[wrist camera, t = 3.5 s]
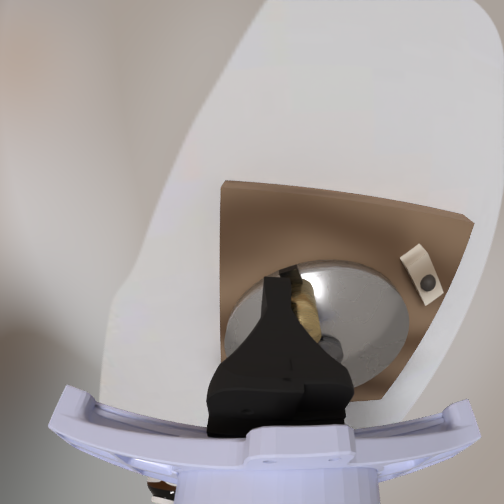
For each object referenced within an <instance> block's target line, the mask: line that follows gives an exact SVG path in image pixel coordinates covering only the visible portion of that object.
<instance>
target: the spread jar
mask: <svg viewBox="0 0 504 504" xmlns="http://www.w3.org/2000/svg"><path fill="white" fill-rule="evenodd" d="M147 484H148V488H149V489H150V491H151V493H152V494H153V496H152V500H151V501H152V502H154V503H157V504H174V498H175V492H176V487H177V484H173V483H169V482H165V481H161V480H158V479H154V478H151V477H148V481H147Z"/></svg>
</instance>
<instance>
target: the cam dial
mask: <svg viewBox="0 0 504 504" xmlns="http://www.w3.org/2000/svg"><path fill="white" fill-rule="evenodd" d="M268 277H283V278H290V282H291V286H292V290H291V308H292V310H293V312H294V314H295V315H296V317H297V318H298V320H299V321H300V323H301V324H302V326H303V327H304V328H305V330H306V331H307V332H308V333H309V334H310V336H311V337H312V338H313V339H314V340H315V341H316V342H317V343H318V344H319V345H320V346H321V347H322V348H323V349H324V351H326V352H327V353H328V354H329V355H330V356H331V357H332V358H334V359H335V360H336V361H338V362H339V363H341V364H342V365H343V366H345V367H346V368H347V369H348V372H349V374H350V377H351V379H352V382H353V386H354V388H355V387H357V386H359V385H361V384H364V383H365V382H367V381H369V380H370V379H372V378H374V377H375V376H376V375H378V374H379V373H381V372H382V371H383V370H384V369H385V368H386V367H388V366H389V364H390V363H391V362H392V361H393V360H394V359H395V358H396V356H397V355H398V354H399V352H400V351H401V349H402V347H403V345H404V343H405V341H406V338H407V335H408V331H409V314H408V310H407V307H406V305H405V303H404V301H403V299H402V297H401V295H400V294H399V292H398V290H397V288H396V287H395V285H394V284H393V283H392V282H391V281H390V280H389V279H388V278H387V277H386V276H384V275H383V274H382V273H380V272H379V271H377V270H375V269H373V268H371V267H369V266H366V265H363V264H361V263H356V262H352V261H346V260H335V259H332V260H315V261H308V262H303V263H299V264H295V265H291V266H288V267H286V268H283V269H280V270H278V271H276V272H274V273H272V274H270V275H268ZM263 282H264V278H263V279H261V280H260V281H258V282H257V283H255V284H254V285H253V286H251V287H250V288H249V289H248V290H247V291H246V292H245V293H244V294H243V295H242V296H241V297H240V299H239V300H238V301H237V303H236V304H235V306H234V307H233V309H232V311H231V314H230V316H229V319H228V324H227V329H226V334H225V339H224V348H225V353H226V356H227V357H229V356H230V355H231V354H232V353H233V352H234V351H235V350H236V349H237V348H238V347H239V346H240V345H241V344H242V342H243V341H244V340H245V339H246V338H247V337H248V335H249V334H250V333H251V331H252V330H253V329H254V327H255V326H256V324H257V323H258V321H259V319H260V318H261V304H262V293H263Z"/></svg>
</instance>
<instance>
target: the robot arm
mask: <svg viewBox="0 0 504 504" xmlns="http://www.w3.org/2000/svg"><path fill="white" fill-rule="evenodd" d="M291 290H292V286H291V282H290V278H283V277H268V276H264V282H263V293H262V304H261V318H260V319H259V321H258V323H257V324H256V326H255V327H254V329H253V330H252V331H251V333H250V334H249V335H248V337H247V338H246V339H245V340H244V341H243V342H242V344H241V345H240V346H239V347H238V348H237V349H236V350H235V351H234V352H233V353H232V354H231V355H230V356H229V357H227V358H226V359H225V360H224V361H223V362H222V363H220V365H219V366H218V368H217V370H216V372H215V373H214V375H213V377H212V380H211V382H210V385H209V388H208V393H207V400H206V402H207V407H208V412H209V418H208V425H207V427H200V426H194V425H188V424H182V423H176V422H171V421H166V420H161V419H157V418H152V417H148V416H144V415H140V414H136V413H132V412H128V411H125V410H121V409H118V408H115V407H111V406H108V405H105V404H102V403H99V402H96V401H95V399H94V398H93V396H92V395H91V394H90V393H88V392H86V391H84V390H81V389H78V388H76V387H73V386H71V385H66V387H65V389H64V391H63V393H62V395H61V397H60V399H59V402H58V404H57V406H56V408H55V410H54V413H53V415H52V417H51V419H50V422H49V424H48V427H49V428H50V429H51V430H52V431H53V432H55V433H56V434H57V435H58V436H60V437H61V438H62V439H63V440H65V441H66V442H67V443H68V444H70V445H71V446H73V447H74V448H76V449H78V450H81V451H83V452H85V453H87V454H90V455H92V456H94V457H97V458H99V459H102V460H104V461H106V462H109V463H112V464H114V465H116V466H119V467H122V468H124V469H127V470H130V471H133V472H136V473H139V474H142V475H145V476H148V477H151V478H154V479H158V480H161V481H165V482H169V483H173V484H177V487H176V492H175V498H174V504H380V496H379V486H378V483H379V482H383V481H386V480H390V479H393V478H397V477H400V476H403V475H406V474H409V473H412V472H415V471H418V470H421V469H423V468H426V467H429V466H431V465H434V464H437V463H439V462H442V461H444V460H447V459H449V458H452V457H454V456H455V455H457V454H458V453H460V452H461V451H463V450H464V449H466V448H467V447H469V446H470V445H472V444H473V443H475V442H476V441H477V440H479V439H480V438H481V434H480V431H479V428H478V425H477V422H476V419H475V416H474V413H473V410H472V408H471V405H470V402H469V400H468V399H465V400H462V401H458V402H455V403H452V404H451V405H449V406H448V407H446V408H445V409H444V410H443V412H442V413H438V414H434V415H430V416H427V417H422V418H418V419H414V420H409V421H405V422H399V423H394V424H389V425H383V426H376V427H369V428H362V429H353V428H351V427H349V426H347V425H345V424H344V419H345V417H346V413H345V408H346V406H347V405H348V403H349V402H350V401H351V399H352V398H353V395H354V386H353V382H352V379H351V377H350V374H349V372H348V369H347V368H346V367H345V366H343V365H342V364H341V363H339V362H338V361H336V360H335V359H334V358H332V357H331V356H330V355H329V354H328V353H327V352H326V351H324V349H323V348H322V347H321V346H320V345H319V344H318V343H317V342H316V341H315V340H314V339H313V338H312V337H311V336H310V334H309V333H308V332H307V331H306V330H305V328H304V327H303V326H302V324H301V323H300V321H299V320H298V318H297V317H296V315H295V314H294V312H293V310H292V308H291Z"/></svg>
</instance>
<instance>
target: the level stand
mask: <svg viewBox="0 0 504 504" xmlns="http://www.w3.org/2000/svg"><path fill="white" fill-rule="evenodd" d="M473 226H474V223H473V222H472V221H471V220H469V219H468V218H467V217H465V216H464V215H462V214H458V213H454V212H450V211H445V210H441V209H436V208H431V207H427V206H422V205H417V204H412V203H406V202H401V201H396V200H390V199H384V198H378V197H372V196H366V195H359V194H353V193H346V192H339V191H331V190H323V189H315V188H307V187H298V186H288V185H278V184H267V183H255V182H241V181H226V180H225V182H224V183H223V185H222V186H221V201H220V341H221V363H222V362H223V361H224V360H225V359H226V358H227V356H226V353H225V348H224V339H225V334H226V329H227V324H228V319H229V316H230V314H231V311H232V309H233V307H234V306H235V304H236V303H237V301H238V300H239V299H240V297H241V296H242V295H243V294H244V293H245V292H246V291H247V290H248V289H249V288H250V287H251V286H253V285H254V284H255V283H257V282H258V281H260V280H261V279H263V278H264V276H268V275H270V274H272V273H274V272H276V271H278V270H280V269H283V268H286V267H288V266H291V265H295V264H299V263H303V262H308V261H315V260H332V259H335V260H346V261H352V262H356V263H361V264H363V265H366V266H369V267H371V268H373V269H375V270H377V271H379V272H380V273H382V274H383V275H384V276H386V277H387V278H388V279H389V280H390V281H391V282H392V283H393V284H394V285H395V287H396V288H397V290H398V292H399V294H400V295H401V297H402V299H403V301H404V303H405V305H406V307H407V310H408V314H409V331H408V335H407V338H406V341H405V343H404V345H403V347H402V349H401V351H400V352H399V354H398V355H397V356H396V358H395V359H394V360H393V361H392V362H391V363H390V364H389V366H388V367H386V368H385V369H384V370H383V371H382V372H381V373H379V374H378V375H376V376H375V377H374V378H372V379H370V380H369V381H367V382H365V383H364V384H361V385H359V386H357V387H355V388H354V395H353V398H352V399H351V401H350V402H354V401H368V400H379V399H382V397H383V396H384V395H385V393H386V392H387V391H388V389H389V388H390V387H391V385H392V384H393V383H394V381H395V380H396V378H397V377H398V376H399V374H400V373H401V371H402V370H403V368H404V367H405V365H406V364H407V362H408V361H409V359H410V358H411V356H412V355H413V353H414V351H415V350H416V348H417V347H418V345H419V343H420V342H421V340H422V338H423V337H424V335H425V333H426V331H427V330H428V328H429V326H430V324H431V322H432V321H433V319H434V317H435V315H436V313H437V311H438V309H439V307H440V305H441V303H442V301H443V299H444V297H445V295H446V293H447V291H448V289H449V287H450V285H451V283H452V280H453V278H454V276H455V273H456V271H457V269H458V266H459V264H460V262H461V259H462V256H463V254H464V251H465V249H466V246H467V243H468V241H469V238H470V235H471V232H472V229H473Z"/></svg>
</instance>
